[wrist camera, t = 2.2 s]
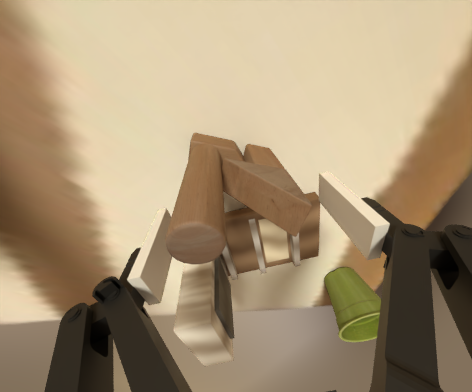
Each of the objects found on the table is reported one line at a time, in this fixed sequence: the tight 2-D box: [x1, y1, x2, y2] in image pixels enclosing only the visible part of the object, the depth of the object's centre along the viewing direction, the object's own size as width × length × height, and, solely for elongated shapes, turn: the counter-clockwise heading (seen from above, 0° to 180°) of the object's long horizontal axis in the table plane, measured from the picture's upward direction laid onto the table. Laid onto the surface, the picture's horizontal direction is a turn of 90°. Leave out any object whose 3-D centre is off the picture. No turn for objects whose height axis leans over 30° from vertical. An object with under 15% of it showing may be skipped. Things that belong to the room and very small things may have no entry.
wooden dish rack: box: [174, 192, 320, 366], centre depth 29 cm, size 14×24×16 cm, turn 102°
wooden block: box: [165, 133, 312, 264], centre depth 19 cm, size 4×11×18 cm, turn 77°
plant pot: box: [324, 267, 381, 342], centre depth 41 cm, size 12×12×11 cm
